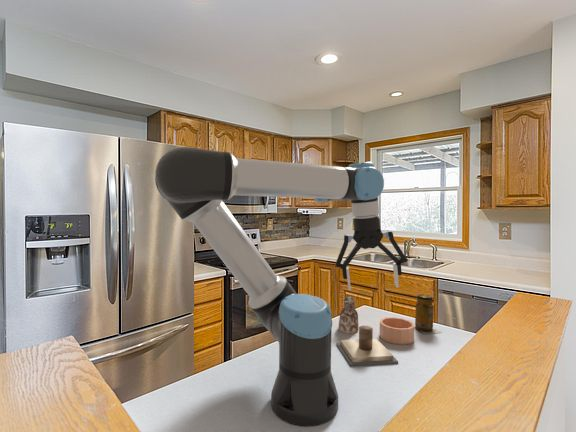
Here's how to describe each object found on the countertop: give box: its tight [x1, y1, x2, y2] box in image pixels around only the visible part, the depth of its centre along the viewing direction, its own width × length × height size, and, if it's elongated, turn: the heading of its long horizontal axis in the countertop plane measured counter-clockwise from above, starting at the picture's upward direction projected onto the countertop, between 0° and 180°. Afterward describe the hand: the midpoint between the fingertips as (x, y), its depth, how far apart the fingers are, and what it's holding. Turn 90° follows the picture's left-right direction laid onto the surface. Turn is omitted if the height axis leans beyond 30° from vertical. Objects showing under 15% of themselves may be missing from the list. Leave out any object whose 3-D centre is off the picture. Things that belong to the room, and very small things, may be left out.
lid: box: [339, 325, 394, 362], centre depth 98 cm, size 12×12×7 cm
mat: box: [336, 342, 399, 367], centre depth 98 cm, size 14×14×1 cm
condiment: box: [414, 294, 442, 335], centre depth 117 cm, size 7×8×12 cm
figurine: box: [338, 294, 360, 334], centre depth 117 cm, size 7×7×12 cm
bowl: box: [379, 316, 415, 346], centre depth 110 cm, size 11×11×5 cm
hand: (373, 287), depth 95 cm, fingers open, 13 cm apart
